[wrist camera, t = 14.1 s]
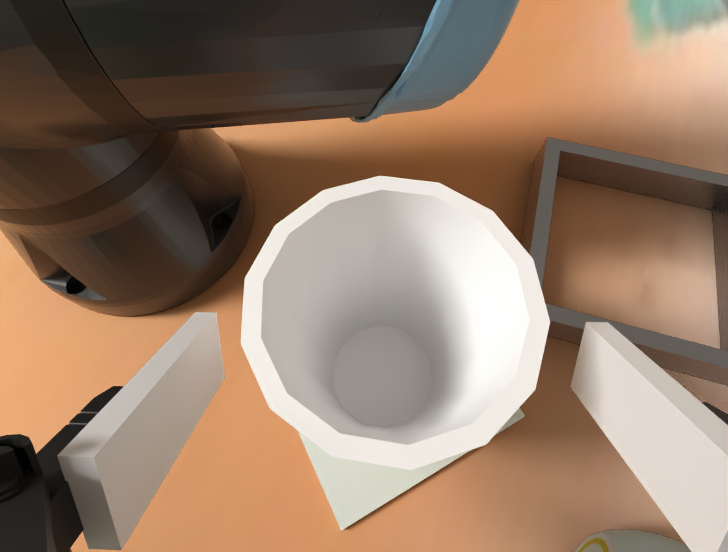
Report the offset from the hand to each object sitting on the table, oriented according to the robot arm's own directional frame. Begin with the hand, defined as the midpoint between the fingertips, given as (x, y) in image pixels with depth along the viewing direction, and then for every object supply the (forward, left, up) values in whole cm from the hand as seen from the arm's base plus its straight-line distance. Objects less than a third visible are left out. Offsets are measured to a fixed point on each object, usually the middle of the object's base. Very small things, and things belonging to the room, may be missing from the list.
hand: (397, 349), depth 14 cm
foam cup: (-1, 0, -10) cm, 11 cm away
